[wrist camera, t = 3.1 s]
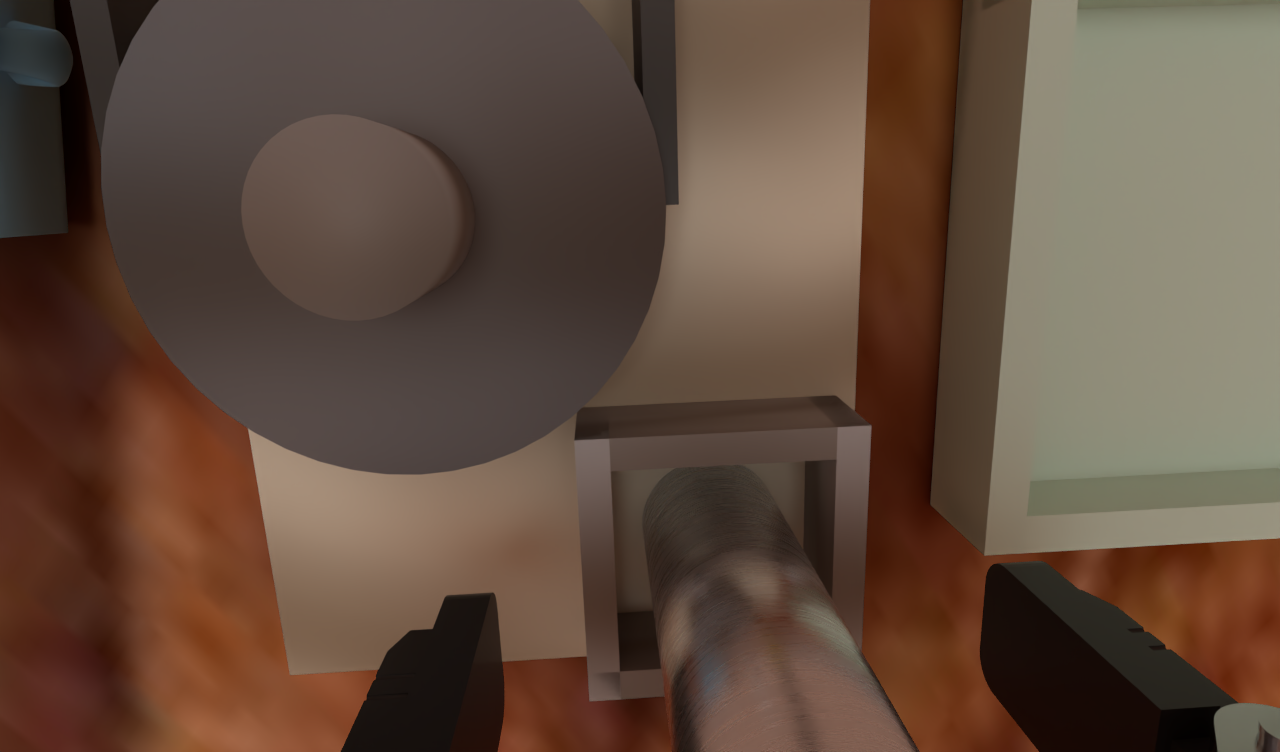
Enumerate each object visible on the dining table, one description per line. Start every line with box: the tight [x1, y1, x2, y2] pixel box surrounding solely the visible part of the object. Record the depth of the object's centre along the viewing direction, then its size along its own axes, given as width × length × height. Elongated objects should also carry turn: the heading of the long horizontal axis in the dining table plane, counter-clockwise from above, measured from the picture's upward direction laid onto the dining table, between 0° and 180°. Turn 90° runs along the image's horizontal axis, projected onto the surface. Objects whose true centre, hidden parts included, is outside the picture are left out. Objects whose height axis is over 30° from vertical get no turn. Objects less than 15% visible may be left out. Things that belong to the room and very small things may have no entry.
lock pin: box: [642, 465, 919, 752], centre depth 11 cm, size 4×4×10 cm
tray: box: [930, 0, 1280, 556], centre depth 15 cm, size 11×11×2 cm
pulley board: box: [70, 0, 871, 701], centre depth 13 cm, size 14×12×6 cm
